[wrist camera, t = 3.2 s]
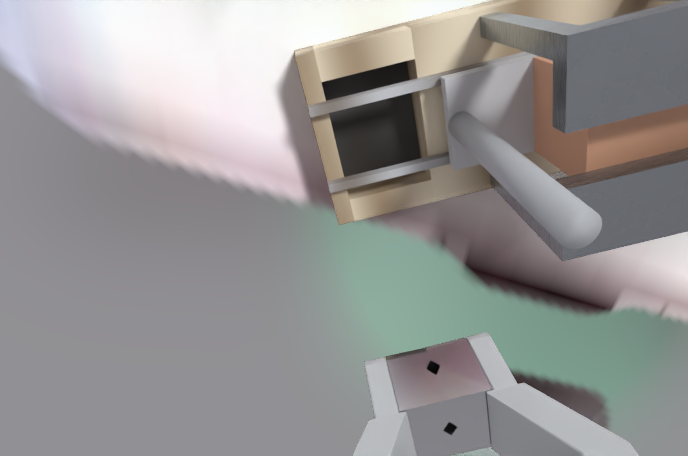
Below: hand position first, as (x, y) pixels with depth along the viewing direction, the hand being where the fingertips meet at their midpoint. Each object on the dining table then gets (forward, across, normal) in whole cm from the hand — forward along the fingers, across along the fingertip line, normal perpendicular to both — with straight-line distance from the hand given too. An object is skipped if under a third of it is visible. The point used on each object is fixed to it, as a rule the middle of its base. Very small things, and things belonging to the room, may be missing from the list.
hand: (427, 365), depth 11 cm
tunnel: (+17, -12, 0) cm, 21 cm away
